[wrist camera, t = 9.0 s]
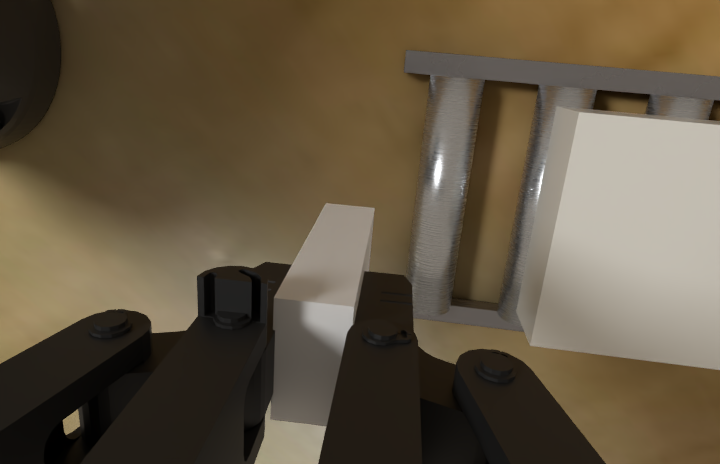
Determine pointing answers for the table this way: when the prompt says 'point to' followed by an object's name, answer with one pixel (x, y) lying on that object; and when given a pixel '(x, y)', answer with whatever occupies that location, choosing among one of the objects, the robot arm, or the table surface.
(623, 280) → the slab
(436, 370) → the robot arm
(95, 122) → the table surface
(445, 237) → the roller bed
